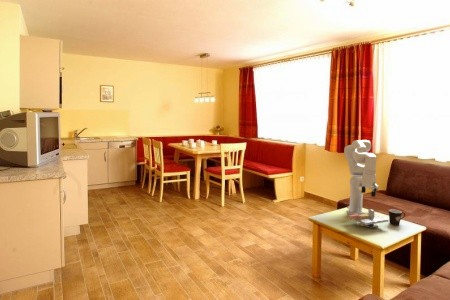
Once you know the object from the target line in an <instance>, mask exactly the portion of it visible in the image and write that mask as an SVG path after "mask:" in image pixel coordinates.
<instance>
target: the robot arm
mask: <svg viewBox="0 0 450 300" xmlns="http://www.w3.org/2000/svg"><path fill="white" fill-rule="evenodd" d="M371 149H372V143H371V141H370V140H367V139H362V140H361V139H358V140H357V139H355V140H353V141H352V142H351V144H349V145H346V146H344V149H343V150H344V151H343V152H344V157H345V159H346V160H347V164H348V169H349V174H350V175H351V177H349V178H350V179H349V186H350V187H349V188H350V194H349V205H348V206H347V207H346V209H347V215H350V214H354V213H356V214H357V213H364V212H363V197H364V194H365V193H366V189H371V192H370V193H371V195H370V196H371V197H376V193H377V191H378V190H379V187H380V186H379V185H378V184H377V174H376V173H377V172H376V171H377V170H376V169H377V160H378V159H377V155H375V154H374V153H372V152H369V151H370V150H371Z"/></svg>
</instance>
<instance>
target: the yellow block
mask: <svg viewBox="0 0 450 300" xmlns="http://www.w3.org/2000/svg"><path fill="white" fill-rule="evenodd" d="M368 217H369V215H367V214H362V215H361V219H366V218H368ZM359 226H360V227H367V226H366V225H364V224H362V223H360V222H359Z"/></svg>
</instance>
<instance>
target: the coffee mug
mask: <svg viewBox="0 0 450 300" xmlns="http://www.w3.org/2000/svg"><path fill="white" fill-rule="evenodd" d="M402 215H403V216H402ZM405 216H406V213H405V212H402V211H401V210H398V209H394V208H393V209H388V218H389V219H388V220H389V221H388V223H389V224H390V225H392V226H395V227H396V226H397V227H398V226H400V222H401V220H403V219H404V218H405Z"/></svg>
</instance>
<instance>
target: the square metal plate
mask: <svg viewBox="0 0 450 300" xmlns="http://www.w3.org/2000/svg"><path fill="white" fill-rule="evenodd" d="M357 214H358V215H362V214H367V215H369V217H368V218H366V219H361V220H358V219H352V220H353V221H356V222H358V223H359V224H360V223H362V224H364V225H366V226H365V227H368V228H370V229H372V228H373V229H374V228H378V227H379V226H378V224H380V223H381V224H382V223H389V219H388V218H386V217H383V216H380V215H378V214H375V210H374V209H370V208H369V209H368V211H367V212H363V213H357ZM349 215H354V214H346V218H349Z"/></svg>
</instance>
